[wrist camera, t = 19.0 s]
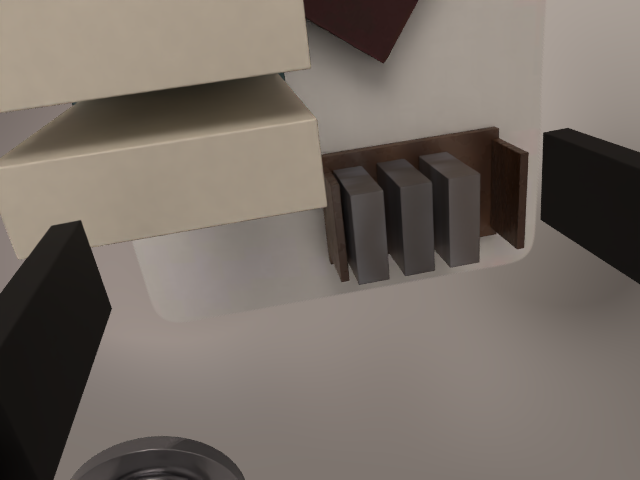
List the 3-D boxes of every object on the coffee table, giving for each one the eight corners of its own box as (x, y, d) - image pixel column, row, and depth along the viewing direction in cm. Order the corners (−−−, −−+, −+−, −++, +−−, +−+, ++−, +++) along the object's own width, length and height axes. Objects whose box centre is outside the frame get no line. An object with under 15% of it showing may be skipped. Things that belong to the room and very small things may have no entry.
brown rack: (329, 260, 60) (347, 301, 52) (316, 155, 55) (333, 182, 47) (492, 230, 62) (534, 265, 54) (494, 126, 57) (540, 147, 49)
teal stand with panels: (260, 80, 51) (337, 219, 18) (146, 97, 50) (12, 276, 17) (233, -93, 45) (277, -336, 13) (103, -79, 44) (-221, -305, 11)
